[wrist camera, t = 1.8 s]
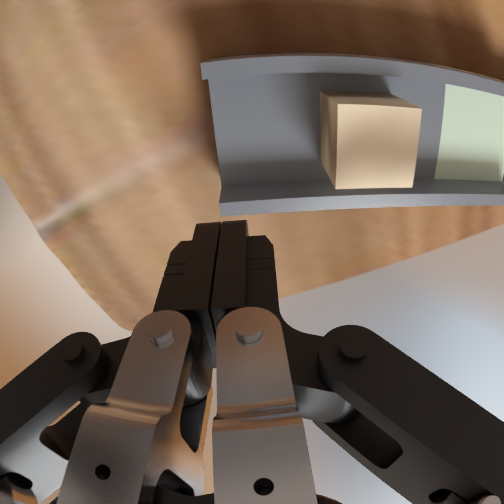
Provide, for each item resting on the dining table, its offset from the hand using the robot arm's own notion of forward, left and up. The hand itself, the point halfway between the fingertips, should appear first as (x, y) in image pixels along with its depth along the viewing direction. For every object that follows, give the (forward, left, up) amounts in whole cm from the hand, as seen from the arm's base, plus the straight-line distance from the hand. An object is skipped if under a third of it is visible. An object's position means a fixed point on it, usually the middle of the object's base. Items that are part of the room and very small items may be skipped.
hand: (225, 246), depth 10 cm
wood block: (0, +8, -13) cm, 15 cm away
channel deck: (0, +15, -16) cm, 22 cm away
